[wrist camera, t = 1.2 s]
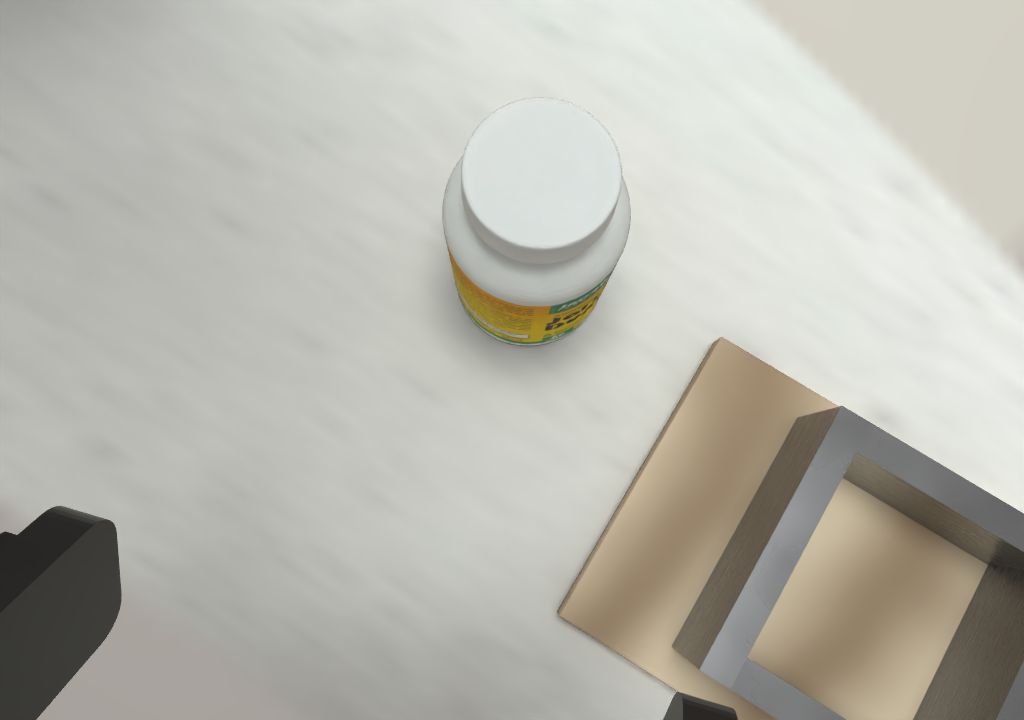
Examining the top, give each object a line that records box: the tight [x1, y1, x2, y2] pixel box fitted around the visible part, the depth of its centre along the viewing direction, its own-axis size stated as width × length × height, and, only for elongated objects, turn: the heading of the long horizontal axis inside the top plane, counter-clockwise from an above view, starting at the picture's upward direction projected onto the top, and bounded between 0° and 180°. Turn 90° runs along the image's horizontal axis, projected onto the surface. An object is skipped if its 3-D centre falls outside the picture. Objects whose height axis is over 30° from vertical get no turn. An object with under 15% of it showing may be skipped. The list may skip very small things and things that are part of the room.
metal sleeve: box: [672, 406, 1024, 720], centre depth 24 cm, size 9×9×4 cm
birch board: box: [557, 337, 988, 720], centre depth 26 cm, size 16×11×1 cm
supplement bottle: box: [442, 97, 631, 345], centre depth 24 cm, size 5×5×10 cm
